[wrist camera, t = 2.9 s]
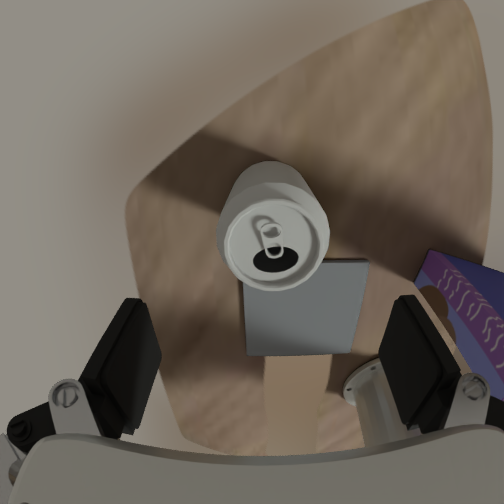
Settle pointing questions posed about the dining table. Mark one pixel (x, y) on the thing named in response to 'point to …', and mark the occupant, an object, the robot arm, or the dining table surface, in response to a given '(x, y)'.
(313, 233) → the can
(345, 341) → the mat
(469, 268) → the cereal box
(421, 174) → the dining table surface
